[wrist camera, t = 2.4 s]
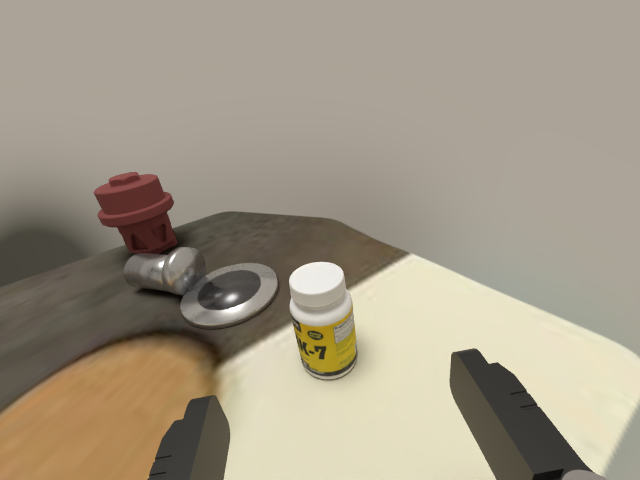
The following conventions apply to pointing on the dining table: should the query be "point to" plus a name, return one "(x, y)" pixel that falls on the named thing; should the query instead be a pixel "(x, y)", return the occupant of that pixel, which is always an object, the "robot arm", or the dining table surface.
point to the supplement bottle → (323, 320)
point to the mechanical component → (137, 212)
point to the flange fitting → (205, 286)
